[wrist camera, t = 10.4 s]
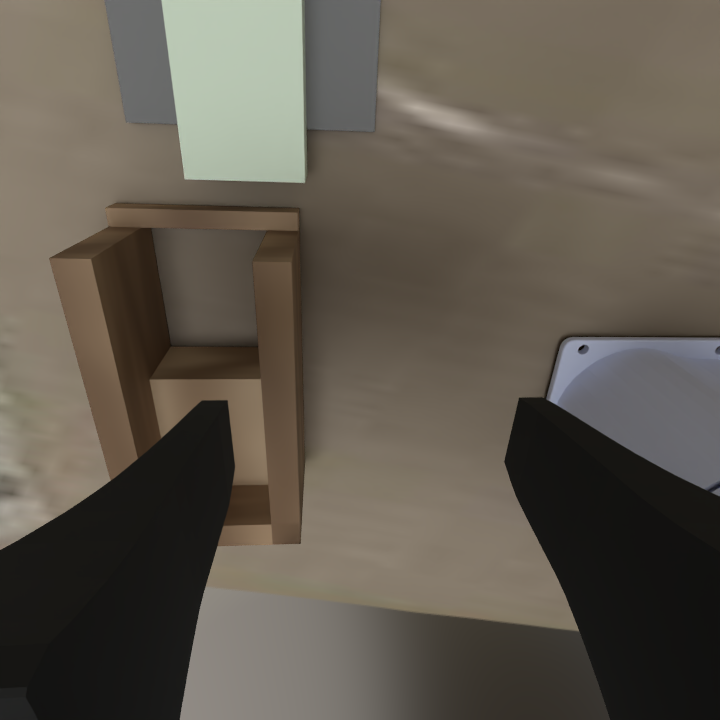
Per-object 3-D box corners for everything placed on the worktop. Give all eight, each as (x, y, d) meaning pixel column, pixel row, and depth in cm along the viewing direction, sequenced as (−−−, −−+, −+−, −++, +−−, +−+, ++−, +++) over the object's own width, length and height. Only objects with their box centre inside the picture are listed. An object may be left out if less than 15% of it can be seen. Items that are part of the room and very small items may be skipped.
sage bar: (301, -198, 13) (297, -257, 11) (307, 174, 18) (304, 182, 16) (158, -212, 13) (125, -275, 11) (201, 171, 18) (184, 179, 16)
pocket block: (299, 208, 19) (290, 239, 14) (305, 461, 25) (300, 543, 20) (115, 203, 18) (42, 234, 14) (167, 464, 25) (129, 548, 20)
